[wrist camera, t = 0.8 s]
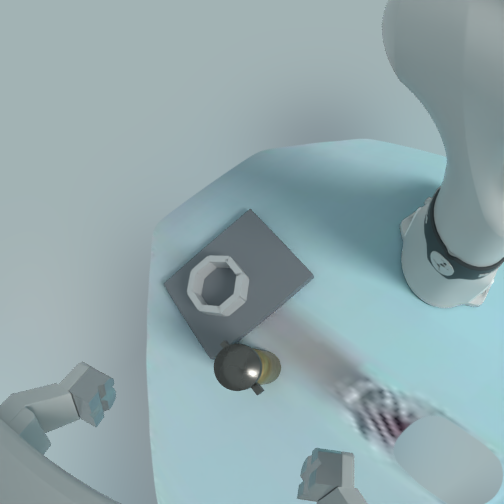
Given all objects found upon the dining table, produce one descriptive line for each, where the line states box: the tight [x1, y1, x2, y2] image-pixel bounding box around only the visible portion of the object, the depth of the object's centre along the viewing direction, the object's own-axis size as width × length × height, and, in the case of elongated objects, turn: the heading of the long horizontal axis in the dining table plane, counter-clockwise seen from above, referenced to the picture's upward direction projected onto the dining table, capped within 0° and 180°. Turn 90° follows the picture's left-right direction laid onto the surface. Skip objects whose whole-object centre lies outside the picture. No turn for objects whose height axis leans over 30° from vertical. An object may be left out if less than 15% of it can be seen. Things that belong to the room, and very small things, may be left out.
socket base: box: [164, 209, 314, 359], centre depth 46 cm, size 20×16×4 cm
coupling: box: [214, 340, 281, 395], centre depth 36 cm, size 8×5×12 cm
